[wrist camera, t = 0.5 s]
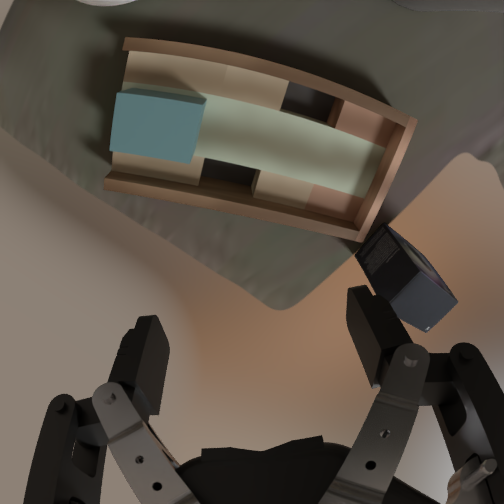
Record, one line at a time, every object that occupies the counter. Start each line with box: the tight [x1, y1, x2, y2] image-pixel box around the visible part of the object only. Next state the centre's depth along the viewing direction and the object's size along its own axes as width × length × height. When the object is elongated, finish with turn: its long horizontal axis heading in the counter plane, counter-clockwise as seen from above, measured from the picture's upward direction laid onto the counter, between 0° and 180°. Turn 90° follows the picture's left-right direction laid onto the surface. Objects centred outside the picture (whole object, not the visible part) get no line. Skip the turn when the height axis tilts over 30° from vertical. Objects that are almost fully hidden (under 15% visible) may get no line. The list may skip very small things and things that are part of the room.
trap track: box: [104, 37, 418, 243], centre depth 27 cm, size 14×27×5 cm, turn 75°
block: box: [109, 88, 207, 164], centre depth 23 cm, size 5×7×4 cm
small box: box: [355, 223, 458, 333], centre depth 35 cm, size 11×6×10 cm, turn 57°
